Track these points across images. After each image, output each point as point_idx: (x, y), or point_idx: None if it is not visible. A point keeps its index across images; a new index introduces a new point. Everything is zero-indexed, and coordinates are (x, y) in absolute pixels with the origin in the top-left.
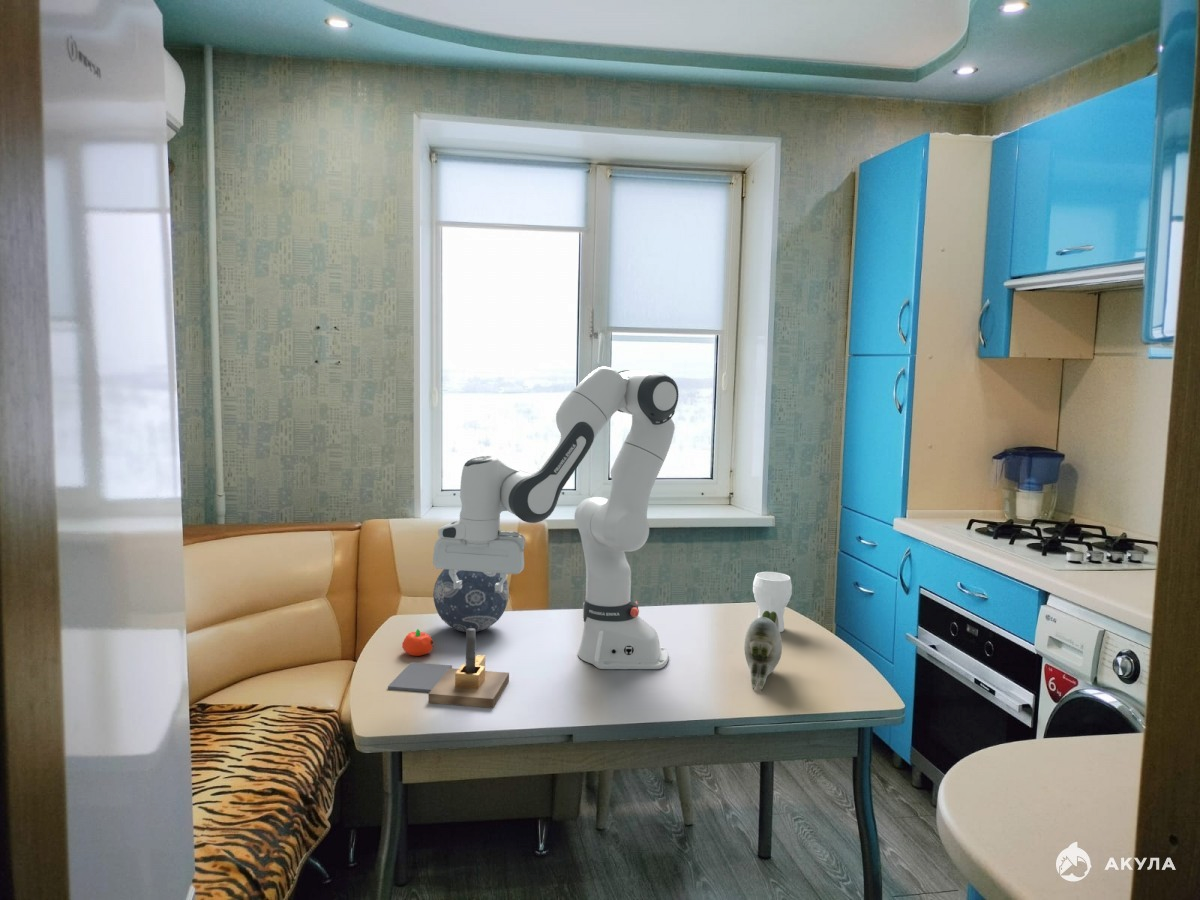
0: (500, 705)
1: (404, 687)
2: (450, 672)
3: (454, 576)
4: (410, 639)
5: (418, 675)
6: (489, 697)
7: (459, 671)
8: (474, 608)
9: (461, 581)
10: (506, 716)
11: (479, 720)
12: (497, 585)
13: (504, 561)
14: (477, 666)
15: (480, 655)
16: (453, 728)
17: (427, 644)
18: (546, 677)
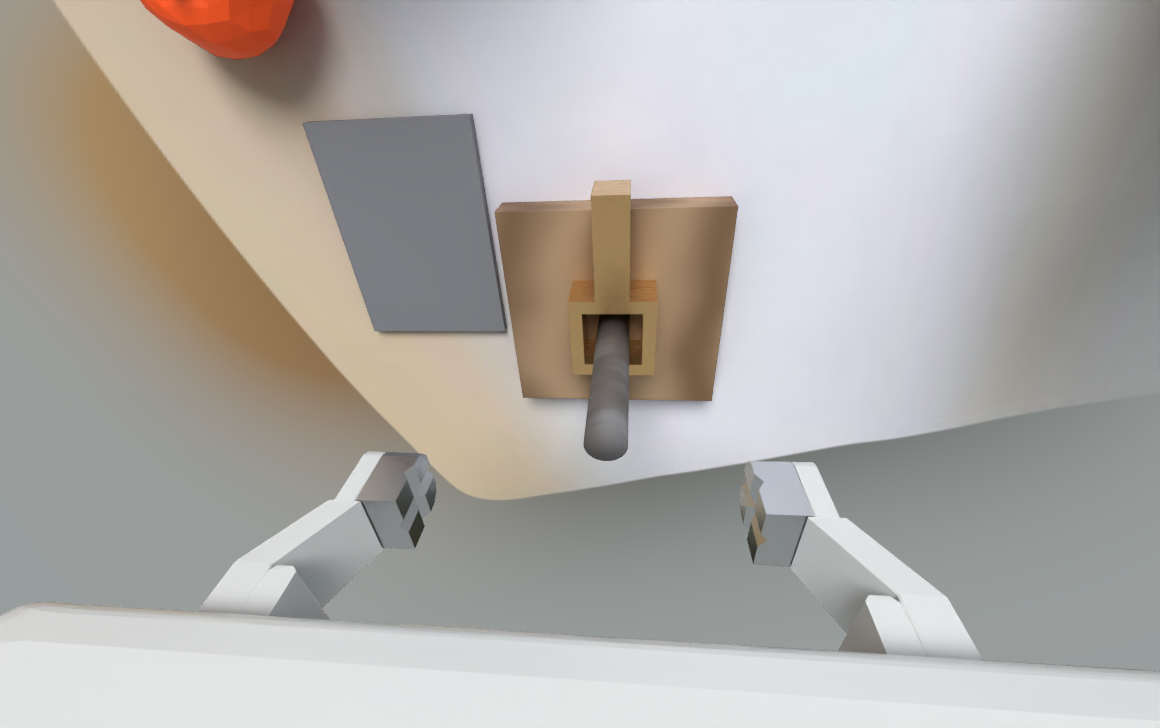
0: (726, 367)
1: (422, 329)
2: (516, 250)
3: (332, 579)
4: (180, 29)
5: (407, 240)
6: (699, 395)
7: (581, 360)
8: None
9: (404, 510)
10: (750, 416)
11: (685, 439)
12: (779, 559)
13: None
14: (629, 310)
15: (608, 199)
16: (635, 473)
17: (273, 11)
18: (894, 119)
